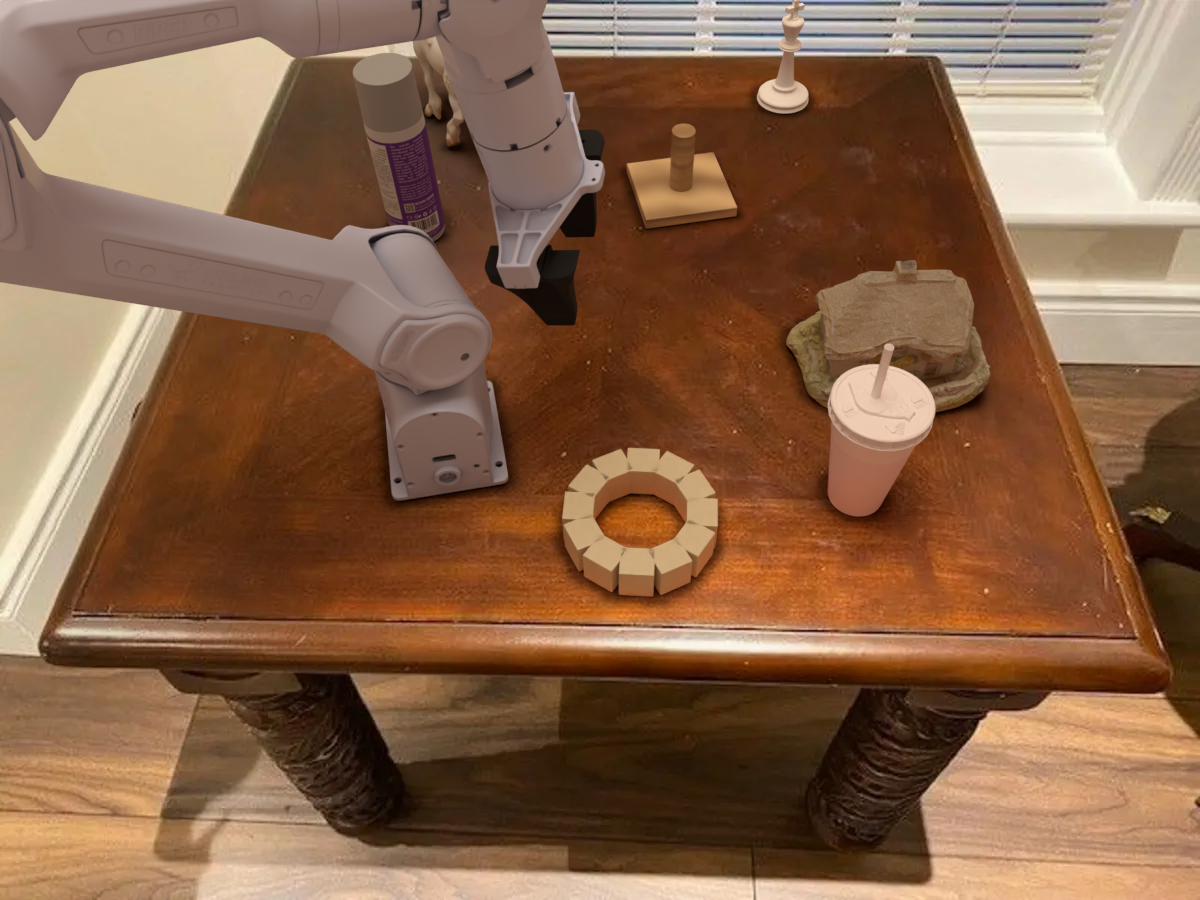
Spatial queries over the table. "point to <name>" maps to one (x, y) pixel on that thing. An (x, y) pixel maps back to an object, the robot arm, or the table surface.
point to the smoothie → (874, 432)
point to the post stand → (681, 185)
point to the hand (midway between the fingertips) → (571, 276)
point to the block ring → (640, 565)
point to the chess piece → (786, 70)
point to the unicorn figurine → (431, 60)
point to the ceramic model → (895, 333)
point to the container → (399, 142)
